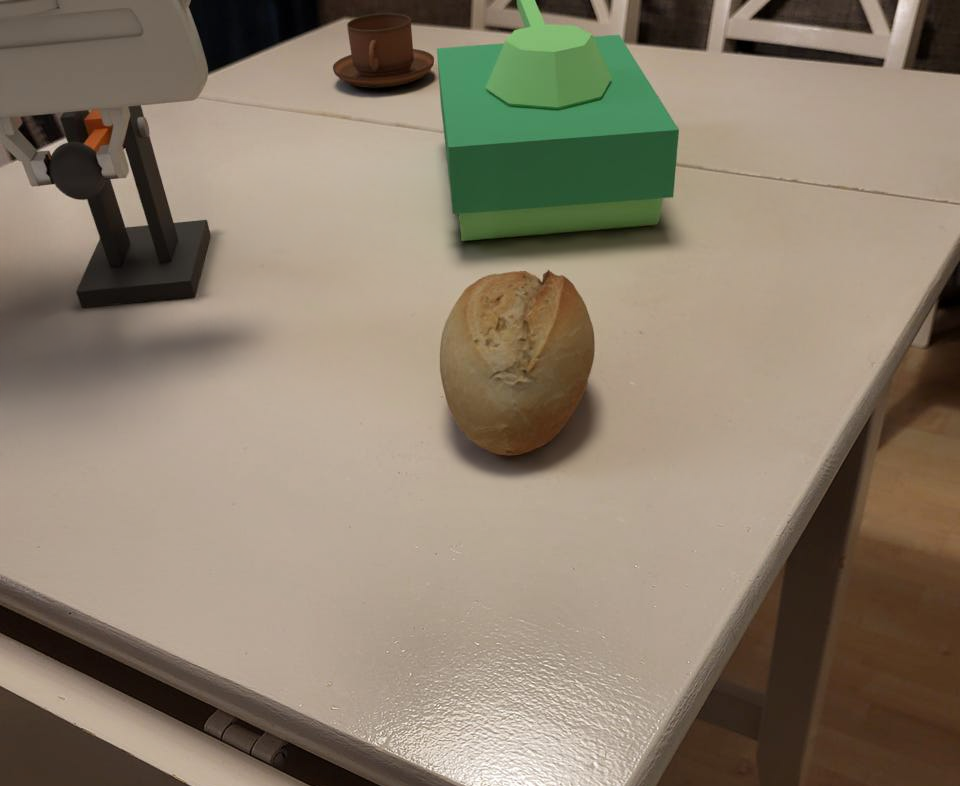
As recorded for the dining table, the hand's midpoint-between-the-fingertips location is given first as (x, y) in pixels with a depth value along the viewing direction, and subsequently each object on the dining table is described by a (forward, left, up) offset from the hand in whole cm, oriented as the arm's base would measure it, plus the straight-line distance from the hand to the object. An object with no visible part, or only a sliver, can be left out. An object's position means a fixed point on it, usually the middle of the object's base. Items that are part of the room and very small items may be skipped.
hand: (80, 179), depth 67 cm
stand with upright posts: (0, +10, -11) cm, 15 cm away
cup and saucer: (+21, +57, -11) cm, 62 cm away
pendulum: (0, +5, -1) cm, 5 cm away
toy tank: (+35, +24, -11) cm, 44 cm away
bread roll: (+28, -16, -11) cm, 34 cm away
